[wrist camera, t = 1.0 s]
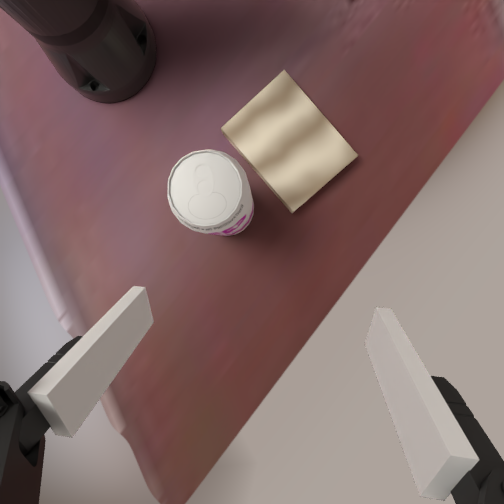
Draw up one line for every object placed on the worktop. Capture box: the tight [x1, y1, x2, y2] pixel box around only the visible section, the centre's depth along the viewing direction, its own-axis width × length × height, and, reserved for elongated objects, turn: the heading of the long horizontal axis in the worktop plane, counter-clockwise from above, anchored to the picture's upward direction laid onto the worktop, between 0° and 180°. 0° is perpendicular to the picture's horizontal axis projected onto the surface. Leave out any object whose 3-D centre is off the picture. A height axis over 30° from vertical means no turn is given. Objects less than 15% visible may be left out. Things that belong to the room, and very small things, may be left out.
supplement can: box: [167, 149, 254, 236], centre depth 30 cm, size 8×8×15 cm
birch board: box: [221, 70, 358, 213], centre depth 35 cm, size 16×12×2 cm
